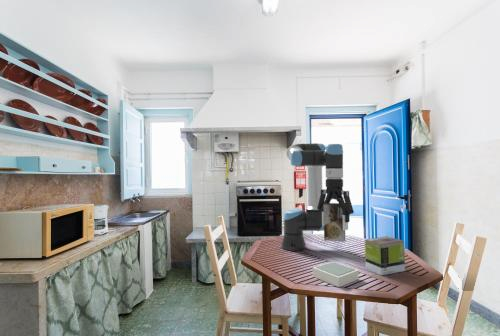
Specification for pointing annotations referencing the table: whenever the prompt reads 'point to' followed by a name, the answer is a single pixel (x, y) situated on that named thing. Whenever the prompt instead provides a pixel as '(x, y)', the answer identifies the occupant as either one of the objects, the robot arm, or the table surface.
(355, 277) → the block
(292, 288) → the table surface
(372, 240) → the tea box
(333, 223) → the coffee box
